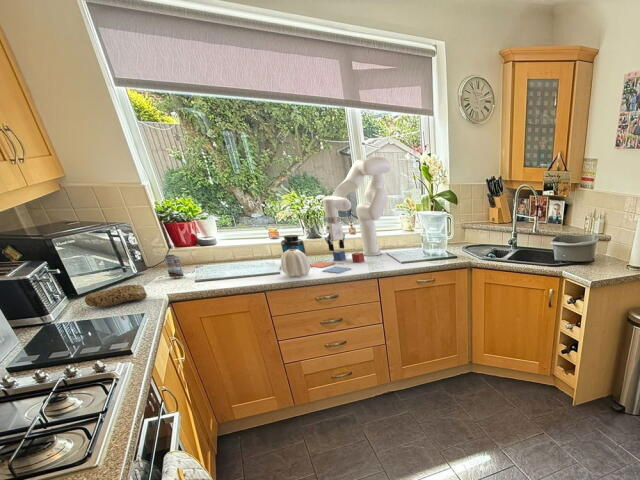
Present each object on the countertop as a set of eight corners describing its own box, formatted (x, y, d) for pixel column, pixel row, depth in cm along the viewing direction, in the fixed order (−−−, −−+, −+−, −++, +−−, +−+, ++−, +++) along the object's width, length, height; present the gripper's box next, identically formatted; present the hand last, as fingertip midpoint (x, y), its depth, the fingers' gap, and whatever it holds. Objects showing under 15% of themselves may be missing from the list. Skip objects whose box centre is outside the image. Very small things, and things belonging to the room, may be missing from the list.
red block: (357, 260, 259) (356, 252, 257) (364, 261, 258) (363, 253, 255) (352, 262, 255) (351, 253, 252) (359, 262, 254) (358, 254, 251)
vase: (284, 279, 217) (277, 253, 211) (284, 273, 228) (278, 248, 222) (312, 277, 223) (306, 251, 216) (311, 271, 234) (306, 246, 227)
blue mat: (335, 267, 243) (335, 266, 242) (351, 269, 240) (351, 268, 240) (322, 271, 233) (322, 270, 233) (338, 273, 231) (338, 272, 230)
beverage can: (169, 279, 211) (160, 256, 206) (171, 276, 217) (163, 253, 211) (184, 278, 214) (175, 255, 208) (186, 275, 220) (177, 252, 214)
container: (305, 266, 243) (299, 237, 235) (283, 266, 241) (276, 237, 233) (309, 261, 253) (303, 234, 246) (288, 262, 251) (282, 234, 243)
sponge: (145, 298, 189) (83, 297, 175) (143, 281, 186) (79, 280, 171) (150, 310, 182) (86, 310, 168) (148, 293, 179) (83, 292, 164)
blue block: (339, 258, 263) (337, 250, 260) (345, 259, 261) (344, 251, 259) (334, 260, 258) (332, 251, 256) (340, 260, 257) (339, 252, 255)
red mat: (319, 262, 253) (319, 261, 253) (334, 263, 250) (334, 263, 250) (306, 266, 244) (306, 265, 243) (322, 267, 241) (322, 266, 241)
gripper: (327, 222, 240) (332, 252, 248) (347, 219, 255) (350, 248, 263) (317, 221, 242) (322, 251, 250) (336, 218, 257) (341, 247, 265)
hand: (336, 249), depth 256 cm, fingers open, 9 cm apart
